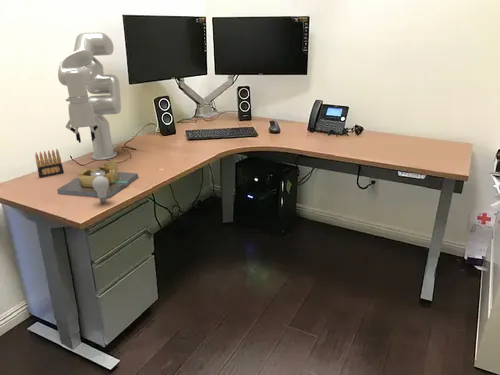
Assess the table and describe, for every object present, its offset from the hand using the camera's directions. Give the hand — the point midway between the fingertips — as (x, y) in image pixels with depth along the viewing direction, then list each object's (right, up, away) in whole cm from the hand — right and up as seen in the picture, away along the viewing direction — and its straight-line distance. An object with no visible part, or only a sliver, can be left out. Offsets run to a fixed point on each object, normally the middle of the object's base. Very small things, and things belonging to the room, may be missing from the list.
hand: (86, 140), depth 185 cm
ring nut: (+7, -16, 0) cm, 18 cm away
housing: (+7, -20, -2) cm, 21 cm away
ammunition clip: (-21, -15, +11) cm, 28 cm away
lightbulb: (+14, -27, -19) cm, 36 cm away
